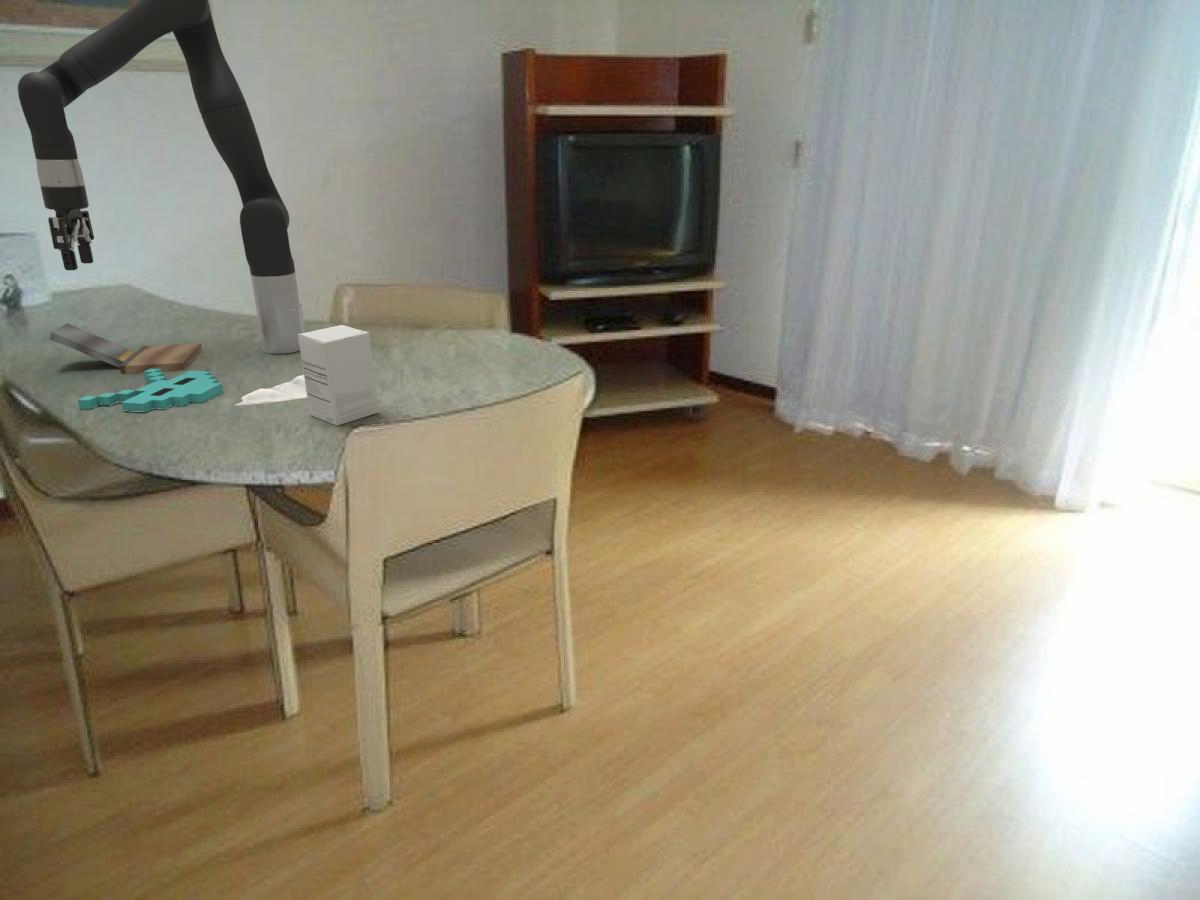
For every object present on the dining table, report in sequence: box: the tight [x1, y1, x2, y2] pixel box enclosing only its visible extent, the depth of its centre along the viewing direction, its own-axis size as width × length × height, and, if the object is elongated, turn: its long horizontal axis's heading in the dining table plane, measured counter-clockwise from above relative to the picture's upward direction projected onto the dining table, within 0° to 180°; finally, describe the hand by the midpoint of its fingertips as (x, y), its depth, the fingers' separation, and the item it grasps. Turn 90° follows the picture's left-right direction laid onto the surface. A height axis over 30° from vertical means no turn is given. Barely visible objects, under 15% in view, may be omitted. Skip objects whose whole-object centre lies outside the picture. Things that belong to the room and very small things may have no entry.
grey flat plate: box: [48, 322, 136, 369], centre depth 174 cm, size 14×8×2 cm, turn 102°
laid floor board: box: [119, 343, 203, 375], centre depth 178 cm, size 12×16×2 cm
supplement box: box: [298, 324, 380, 427], centre depth 145 cm, size 9×9×15 cm
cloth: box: [233, 374, 307, 407], centre depth 161 cm, size 26×14×2 cm, turn 137°
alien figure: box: [77, 369, 224, 412], centre depth 157 cm, size 20×2×20 cm
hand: (79, 266), depth 169 cm, fingers open, 8 cm apart
